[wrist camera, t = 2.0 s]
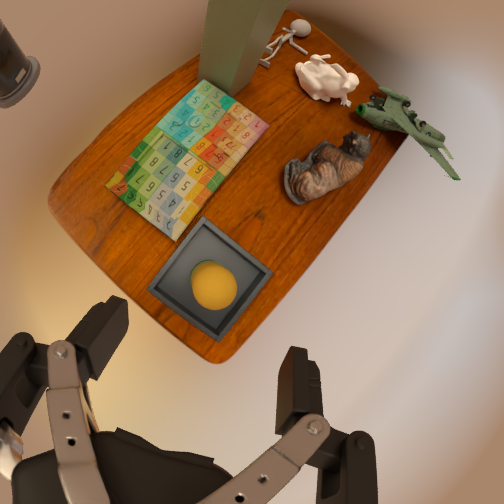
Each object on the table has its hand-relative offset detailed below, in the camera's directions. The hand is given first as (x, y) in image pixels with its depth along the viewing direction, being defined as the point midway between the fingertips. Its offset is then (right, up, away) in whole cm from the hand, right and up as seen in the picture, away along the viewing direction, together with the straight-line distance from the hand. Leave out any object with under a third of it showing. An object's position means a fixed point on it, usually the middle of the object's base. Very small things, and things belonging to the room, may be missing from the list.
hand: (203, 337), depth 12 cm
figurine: (+5, +35, +23) cm, 42 cm away
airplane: (+36, +29, +26) cm, 53 cm away
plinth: (-2, +30, +25) cm, 39 cm away
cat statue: (+11, +16, +28) cm, 34 cm away
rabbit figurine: (+13, +31, +28) cm, 44 cm away
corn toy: (-3, 0, +24) cm, 24 cm away
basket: (-4, 0, +25) cm, 25 cm away
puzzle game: (-7, +17, +24) cm, 30 cm away
